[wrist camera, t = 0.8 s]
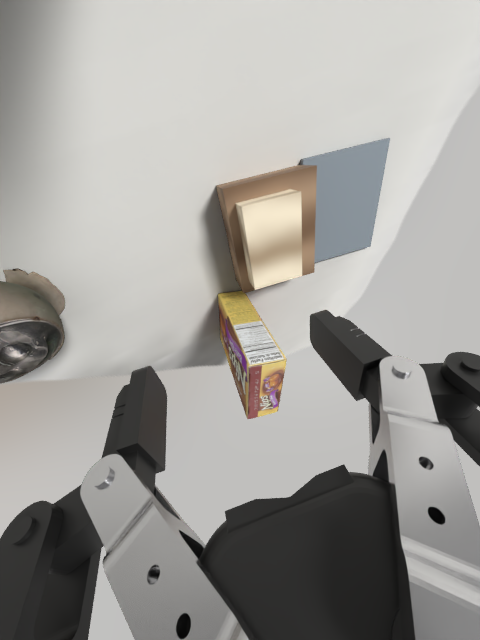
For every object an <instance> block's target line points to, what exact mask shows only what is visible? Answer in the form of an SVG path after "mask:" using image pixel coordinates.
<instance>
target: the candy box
mask: <svg viewBox="0 0 480 640" xmlns="http://www.w3.org/2000/svg"><path fill="white" fill-rule="evenodd" d="M218 302H219V319H220V339H221V341H222V344H223V347H224V350H225V353H226V357H227V359H228V363H229V366H230V369H231V372H232V374H233V377H234V380H235V383H236V387H237V390H238V393H239V395H240V398H241V402H242V404H243V407H244V410H245V414H246V416H247V419H251V418H255V417H259V416H263V415H267V414H271V413H274V412H277V411H278V407H279V402H280V396H281V389H282V383H283V378H284V372H285V366H286V360H287V359H286V357H285V356H284V354H283V353H282V351H281V350H280V348H279V346H278V345H277V343H276V342H275V340H274V338H273V337H272V335H271V334H270V332H269V330H268V329H267V327H266V326H265V324H264V322H263V321H262V319H261V318H260V316H259V315H258V313H257V311H256V310H255V308H254V306H253V305H252V303H251V302H250V300H249V299H248V297H247V295H246V294H245V293H243V291H236V292H227V293H219V294H218Z"/></svg>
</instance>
